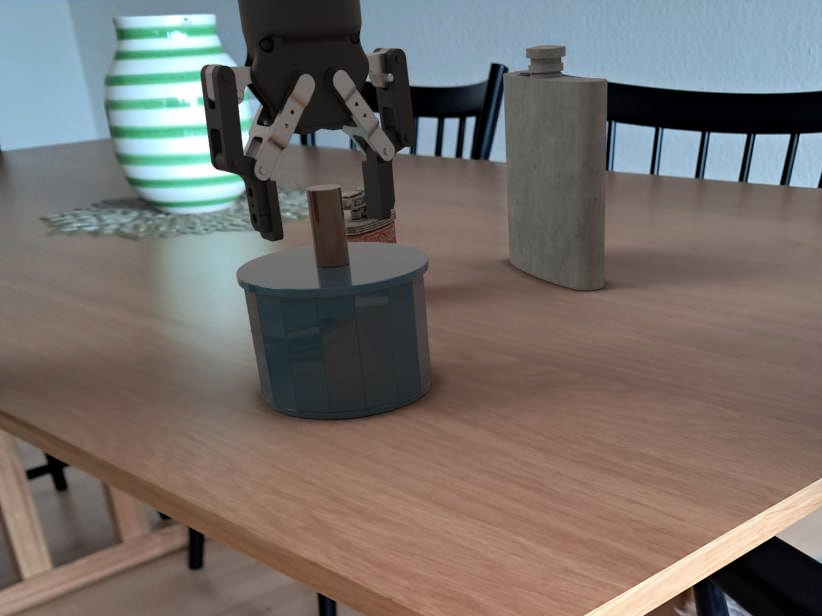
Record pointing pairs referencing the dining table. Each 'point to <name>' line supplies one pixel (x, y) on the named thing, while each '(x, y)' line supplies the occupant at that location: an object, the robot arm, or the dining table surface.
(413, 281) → the pot
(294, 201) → the dining table surface
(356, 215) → the lighter
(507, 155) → the hip flask
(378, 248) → the pot lid
